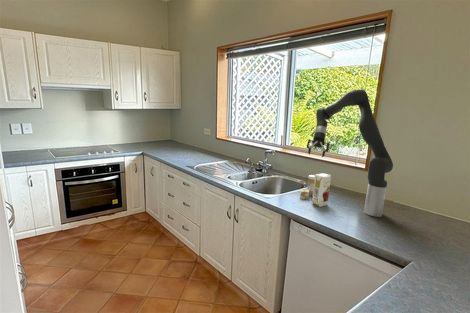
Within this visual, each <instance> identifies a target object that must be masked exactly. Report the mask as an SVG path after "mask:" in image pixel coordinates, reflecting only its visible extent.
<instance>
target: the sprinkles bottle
mask: <svg viewBox="0 0 470 313" xmlns="http://www.w3.org/2000/svg"><path fill="white" fill-rule="evenodd" d="M307 182H308V183H307V188H306V190H309V196H311V197H313V191H314V182H315V174H309V175H308V180H307Z"/></svg>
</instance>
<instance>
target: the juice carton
mask: <svg viewBox="0 0 470 313" xmlns="http://www.w3.org/2000/svg"><path fill="white" fill-rule="evenodd" d="M314 176H315V182H314V191H313V196H312V201H311V204H312V205H315V206H317V207H318V208H321V207H322V208H323V207H325V206H328V202H329V195H330V188H331V181H332V180H331V179H332V175H331V174H327V173H323V172H322V173H316V174H314Z"/></svg>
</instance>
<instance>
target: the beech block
mask: <svg viewBox="0 0 470 313" xmlns="http://www.w3.org/2000/svg"><path fill="white" fill-rule="evenodd" d="M299 194H300V196H299V198H300V200H309V190H307V188H306V189H305V188H300V192H299Z"/></svg>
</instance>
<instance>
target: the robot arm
mask: <svg viewBox="0 0 470 313" xmlns="http://www.w3.org/2000/svg"><path fill="white" fill-rule="evenodd" d="M355 106H358V108H359V111H360V118H359V122H358V123H359V124H358V129H359V132H360V135H361V137H362V139H363V141H364V142H365V143H366V145H367V146H368V147H369V148H370V149H371V151H372V152H373V155H374V157H373V158H372V159H371V160H370V161H369V164H368V171H367V180H368V183H367V189H366V196H365V201H364V208H363V213H364V214H365V215H367V216H372V217H377V218H378V217H379V218H381V217H383V211H384V207H385V206H384V205H385V198H386V192H387V187H388V181H387V180H386V179H385V176H386V174H388V173H390V172H391V171H392V170H393V168H394V163H393V160H392V158H391V156H390V154H389V151H388V149H387V148H386V146H385V142H384V141H383V137H382V136H381V135H382V134H381V132H380V129H379V127H378V125H377V122H376V119H375V117H374V114H373V111H372V107H371V103H370V99H369V96H368V93H367V92H366V90H365V89H351V90H349V91H348V92H346V93H345V94H344V95H343V96H341V97H340V98H338V100H336V101H335V102H332V103H331V104H329V105H327V106H326V107H322V106H320V107H319V108H317V109H316V113H315V115H316V116H315V118H316V126H315V130H314V134H313V139H310V138H309V139H307V144H306V149H308V152H307V153H308V155H311V151H312V149H314V148H315V149H316V148H318V149H321V151H322V155H321V158H324V157H325V156H326V155H325V154H326V153H328V152H329V150H330V142H325V141H326V135H327V127H328V121H327V120H330V119H331V118H332V117H333V116H334V115H336V114H338V113H340V112H341V111H342V110H343V108H346V107H355ZM310 144H311V145H310ZM324 146H325V147H326V149H325V147H324Z"/></svg>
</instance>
